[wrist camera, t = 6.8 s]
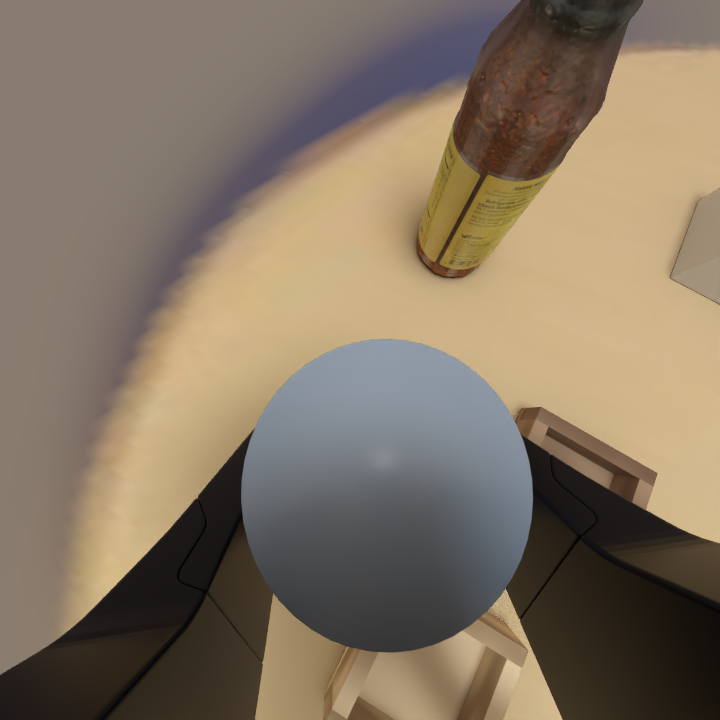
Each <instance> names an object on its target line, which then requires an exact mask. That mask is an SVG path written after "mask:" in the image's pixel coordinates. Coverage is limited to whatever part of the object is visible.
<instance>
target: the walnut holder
mask: <svg viewBox="0 0 720 720" xmlns="http://www.w3.org/2000/svg"><path fill="white" fill-rule="evenodd" d="M515 423H516V425H517V427H518V430H519V432H520V434H522V435H523V436H525V437H526V438H528V439H529V440H531V441H532V442H534V443H535V444H537V445H538V446H540V447H541V448H543V449H545V450H546V451H548V452H549V453H550V455H551V454H552V455H554V456H555V457H557V458H559V459H560V460H562V461H563V462H565V463H566V464H568V465H569V466H571V467H573V468H574V469H576V470H577V471H579V472H581V473H582V474H584V475H585V476H587V477H589V478H591V479H592V480H594V481H596V482H597V483H599V484H601V485H603V486H604V487H606V488H608V489H609V490H611V491H613V492H615V493H616V494H618V495H620V496H622V497H624V498H625V499H627V500H629V501H631V502H632V503H634V504H636V505H638V506H640V507H641V508H643V509H645V510H646V508H647V504H648V501H649V498H650V495H651V492H652V489H653V486H654V483H655V480H656V476H657V473H656V472H654V471H653V470H651V469H649V468H647V467H646V466H644V465H642V464H640V463H639V462H637V461H635V460H633V459H632V458H630V457H628V456H626V455H625V454H623V453H621V452H619V451H618V450H616V449H614V448H612V447H611V446H609V445H607V444H605V443H604V442H602V441H600V440H598V439H597V438H595V437H593V436H591V435H589V434H588V433H586V432H584V431H582V430H581V429H579V428H577V427H575V426H574V425H572V424H570V423H568V422H567V421H565V420H563V419H561V418H560V417H558V416H556V415H554V414H553V413H551V412H549V411H547V410H546V409H544V408H542V407H535V408H523V409H521V411H520V413H519V415H518V417H517V420H516V422H515Z"/></svg>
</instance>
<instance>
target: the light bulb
mask: <svg viewBox="0 0 720 720" xmlns="http://www.w3.org/2000/svg"><path fill="white" fill-rule="evenodd" d="M241 504H242V513H243V523H244V527H245V531H246V535H247V540H248V544H249V546H250V549H251V552H252V554H253V557H254V560H255V562H256V565H257V566H258V568H259V570H260V572H261V574H262V576H263V578H264V579H265V581H266V583H267V584H268V586H269V587H270V589H271V590H272V591H273V593H274V594H275V595H276V597H277V598H278V600H279V601H280V602H281V603H282V604H283V605H284V606H285V607H286V608H287V609H288V610H289V611H290V612H291V613H292V614H293V615H294V616H295V617H296V618H297V619H299V620H300V621H301V622H303V623H304V624H305V625H306V626H308V627H309V628H310V629H312V630H313V631H315V632H317V633H319V634H321V635H322V636H324V637H326V638H328V639H330V640H332V641H335V642H337V643H340V644H343V645H345V646H348V647H351V648H356V649H361V650H365V651H370V652H387V653H395V652H404V651H413V650H417V649H421V648H425V647H428V646H432V645H435V644H437V643H440V642H442V641H444V640H446V639H449V638H451V637H453V636H455V635H456V634H458V633H459V632H461V631H463V630H464V629H466V628H467V627H469V626H470V625H472V624H473V623H474V622H475V621H476V620H477V619H479V618H480V617H481V616H482V615H483V614H484V613H486V612H487V611H488V610H489V608H490V607H491V606H492V605H493V604H494V603H495V602H496V600H497V599H498V598H499V597H500V596H501V594H502V593H503V591H504V590H505V588H506V587H507V585H508V584H509V582H510V581H511V579H512V577H513V575H514V573H515V571H516V569H517V567H518V565H519V563H520V561H521V558H522V555H523V552H524V549H525V546H526V543H527V540H528V535H529V530H530V525H531V520H532V506H533V489H532V476H531V470H530V464H529V459H528V455H527V452H526V449H525V445H524V442H523V439H522V437H521V434H520V432H519V430H518V427H517V425H516V423H515V421H514V419H513V418H512V416H511V414H510V412H509V410H508V409H507V407H506V406H505V404H504V403H503V402H502V400H501V399H500V397H499V396H498V395H497V393H496V392H495V391H494V390H493V389H492V388H491V387H490V386H489V385H488V383H487V382H486V381H485V380H484V379H483V378H482V377H480V376H479V375H478V374H477V373H476V372H475V371H473V370H472V369H471V368H470V367H468V366H467V365H465V364H464V363H462V362H461V361H459V360H458V359H456V358H455V357H453V356H451V355H448V354H446V353H444V352H442V351H440V350H438V349H435V348H432V347H430V346H427V345H424V344H420V343H415V342H411V341H406V340H394V339H377V340H367V341H361V342H355V343H352V344H348V345H345V346H342V347H338V348H336V349H334V350H332V351H329V352H327V353H325V354H323V355H321V356H319V357H318V358H316V359H314V360H313V361H311V362H309V363H308V364H306V365H305V366H304V367H302V368H301V369H300V370H299V371H297V372H296V373H295V374H294V375H292V376H291V377H290V378H289V379H288V381H287V382H286V383H285V384H284V385H283V386H282V387H281V388H280V389H279V390H278V391H277V393H276V394H275V395H274V397H273V398H272V399H271V401H270V402H269V403H268V405H267V406H266V408H265V410H264V412H263V413H262V415H261V417H260V419H259V420H258V422H257V425H256V427H255V430H254V432H253V434H252V437H251V439H250V443H249V446H248V450H247V453H246V457H245V461H244V468H243V475H242V489H241Z"/></svg>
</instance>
